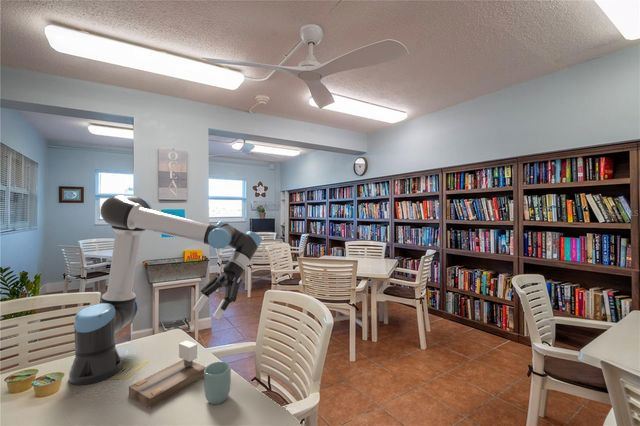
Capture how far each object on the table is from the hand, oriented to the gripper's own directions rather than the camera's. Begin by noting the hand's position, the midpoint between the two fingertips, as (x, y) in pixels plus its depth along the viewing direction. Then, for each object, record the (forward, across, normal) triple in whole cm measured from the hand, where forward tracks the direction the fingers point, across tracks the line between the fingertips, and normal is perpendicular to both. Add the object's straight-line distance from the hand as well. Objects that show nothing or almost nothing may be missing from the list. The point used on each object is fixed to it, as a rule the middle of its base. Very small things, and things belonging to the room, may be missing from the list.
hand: (205, 314), depth 110 cm
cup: (+21, -19, -8) cm, 29 cm away
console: (+24, +1, -4) cm, 24 cm away
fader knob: (+17, +2, -6) cm, 18 cm away
